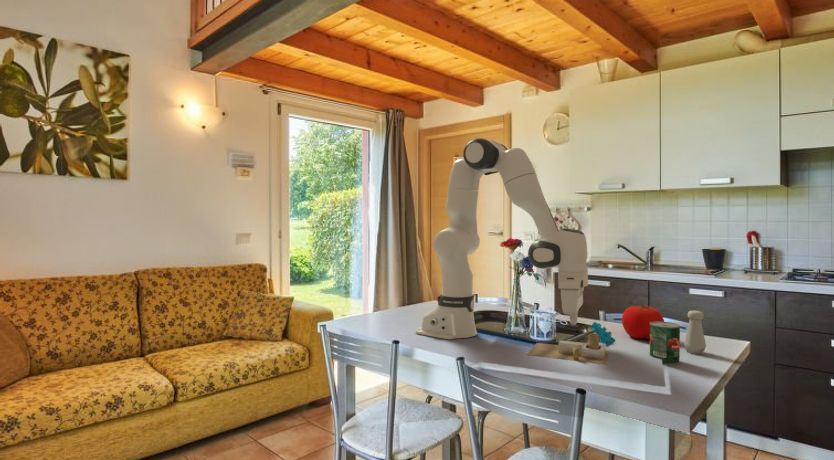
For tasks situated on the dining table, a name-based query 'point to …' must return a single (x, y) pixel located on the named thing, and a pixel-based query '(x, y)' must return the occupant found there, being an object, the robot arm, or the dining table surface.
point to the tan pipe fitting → (582, 349)
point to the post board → (552, 352)
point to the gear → (602, 333)
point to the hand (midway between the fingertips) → (573, 323)
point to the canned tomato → (665, 342)
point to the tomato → (640, 320)
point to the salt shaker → (695, 333)
